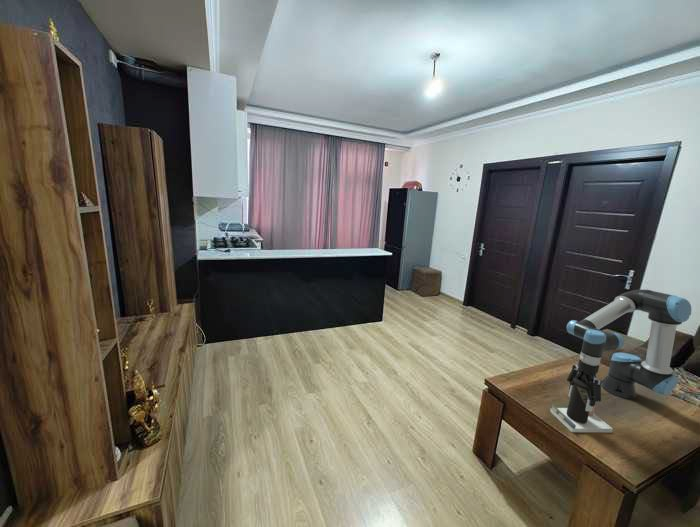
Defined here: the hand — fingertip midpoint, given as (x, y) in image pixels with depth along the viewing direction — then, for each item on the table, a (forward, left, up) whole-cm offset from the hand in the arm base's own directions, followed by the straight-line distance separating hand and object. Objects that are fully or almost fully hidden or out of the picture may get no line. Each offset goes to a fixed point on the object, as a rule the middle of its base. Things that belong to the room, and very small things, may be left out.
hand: (579, 403), depth 139 cm
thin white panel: (-2, 0, -10) cm, 10 cm away
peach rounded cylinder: (-9, -4, -8) cm, 13 cm away
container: (0, 0, -8) cm, 8 cm away
